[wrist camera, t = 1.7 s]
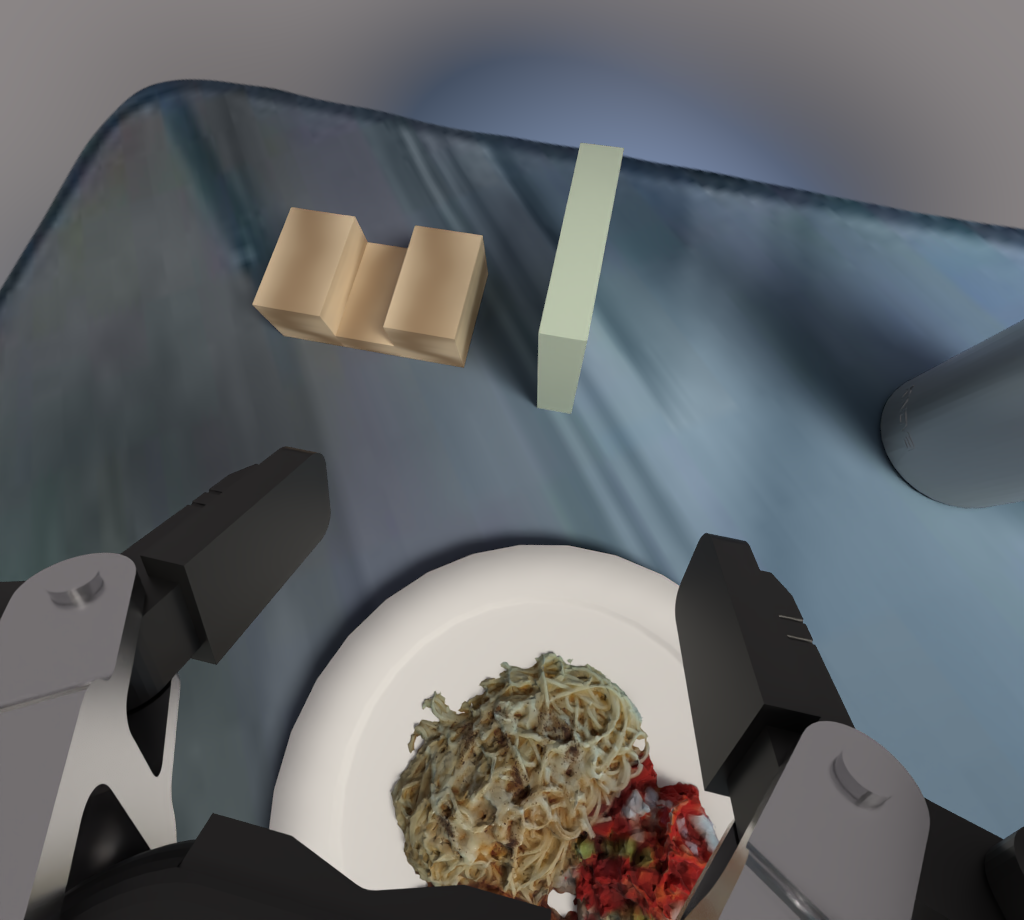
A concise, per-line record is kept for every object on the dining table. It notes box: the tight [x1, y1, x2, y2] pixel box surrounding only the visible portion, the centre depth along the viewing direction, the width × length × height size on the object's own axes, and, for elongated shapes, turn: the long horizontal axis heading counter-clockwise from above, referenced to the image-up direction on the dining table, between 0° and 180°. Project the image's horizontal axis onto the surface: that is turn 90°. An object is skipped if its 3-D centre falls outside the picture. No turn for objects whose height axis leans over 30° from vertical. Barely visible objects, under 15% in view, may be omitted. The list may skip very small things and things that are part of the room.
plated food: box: [269, 545, 734, 920], centre depth 24 cm, size 30×30×3 cm
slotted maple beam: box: [252, 207, 488, 368], centre depth 33 cm, size 14×8×4 cm, turn 78°
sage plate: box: [537, 143, 624, 414], centre depth 29 cm, size 2×12×10 cm, turn 168°
